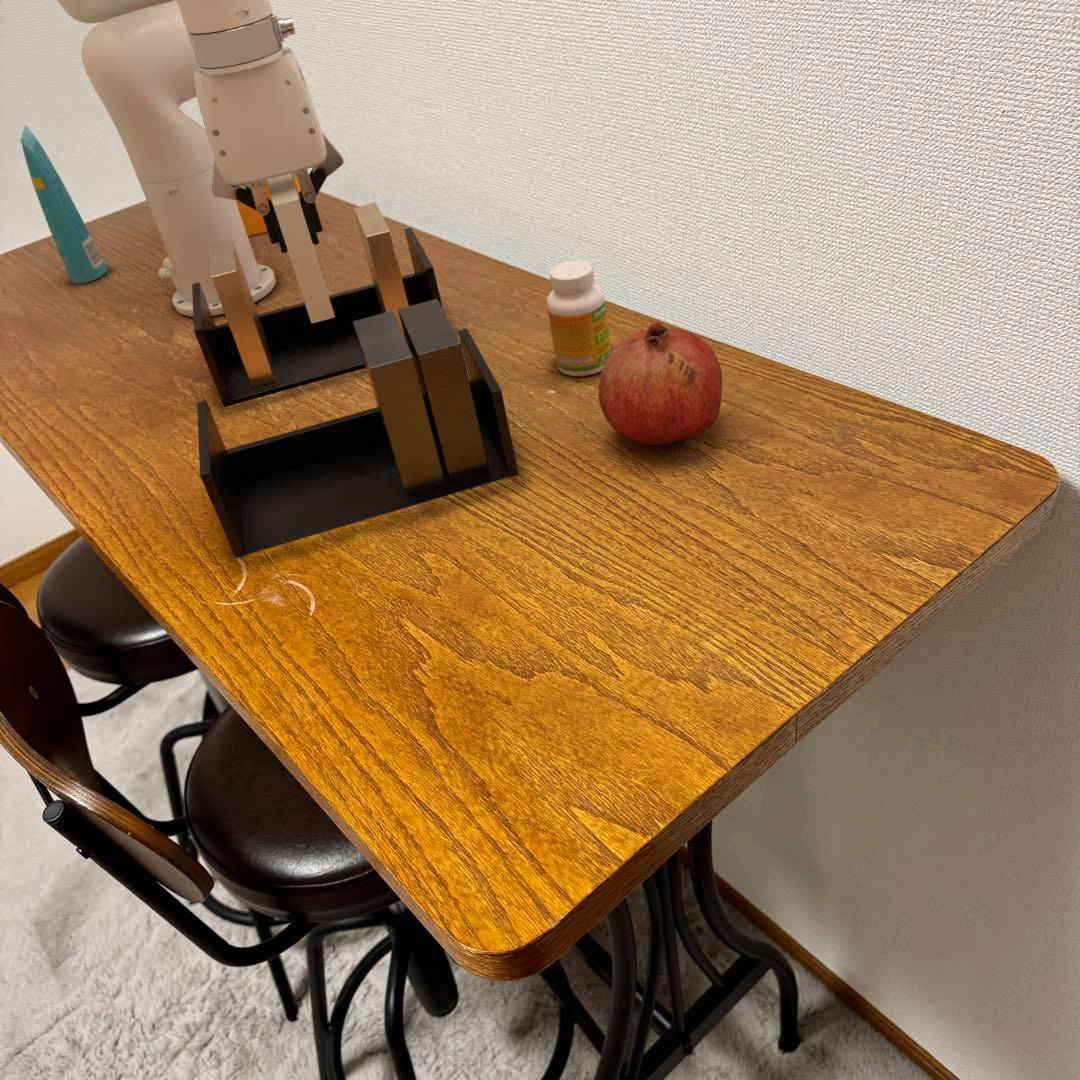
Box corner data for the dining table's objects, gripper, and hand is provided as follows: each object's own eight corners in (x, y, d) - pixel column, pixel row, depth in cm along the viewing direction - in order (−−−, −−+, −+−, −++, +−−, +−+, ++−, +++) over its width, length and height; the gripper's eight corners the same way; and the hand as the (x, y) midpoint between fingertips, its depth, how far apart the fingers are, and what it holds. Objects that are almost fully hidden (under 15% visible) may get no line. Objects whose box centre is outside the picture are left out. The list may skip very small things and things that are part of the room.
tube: (70, 272, 143) (4, 130, 131) (105, 262, 144) (43, 119, 132) (72, 291, 137) (4, 143, 126) (109, 280, 138) (45, 133, 127)
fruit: (752, 435, 87) (748, 326, 81) (657, 484, 83) (645, 375, 77) (673, 389, 94) (664, 287, 88) (582, 433, 91) (566, 330, 85)
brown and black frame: (225, 411, 104) (178, 291, 96) (221, 360, 114) (177, 247, 106) (452, 348, 107) (424, 227, 99) (429, 304, 117) (402, 190, 109)
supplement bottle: (608, 377, 98) (595, 281, 92) (552, 379, 99) (536, 284, 93) (616, 348, 102) (604, 254, 96) (562, 351, 103) (547, 258, 97)
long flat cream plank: (311, 323, 103) (273, 205, 96) (302, 290, 110) (266, 178, 103) (335, 317, 103) (298, 199, 96) (324, 284, 110) (290, 171, 103)
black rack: (239, 567, 83) (180, 430, 75) (232, 489, 93) (179, 360, 85) (520, 484, 86) (491, 343, 78) (486, 416, 96) (457, 285, 88)
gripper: (321, 17, 96) (373, 212, 107) (147, 58, 94) (217, 252, 105) (331, 31, 90) (384, 235, 101) (145, 75, 88) (220, 279, 99)
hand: (299, 242), depth 103 cm, fingers closed on long flat cream plank, 2 cm apart
